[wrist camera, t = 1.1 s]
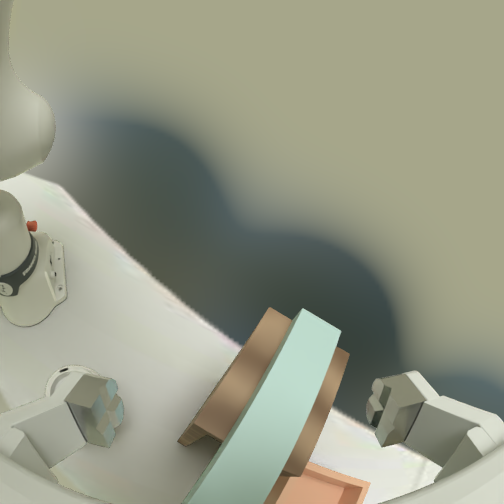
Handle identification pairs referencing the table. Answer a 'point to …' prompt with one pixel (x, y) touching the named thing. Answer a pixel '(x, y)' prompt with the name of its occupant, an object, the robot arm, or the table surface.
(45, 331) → the table surface
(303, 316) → the board
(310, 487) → the bowl pedestal
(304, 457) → the shelf stand
